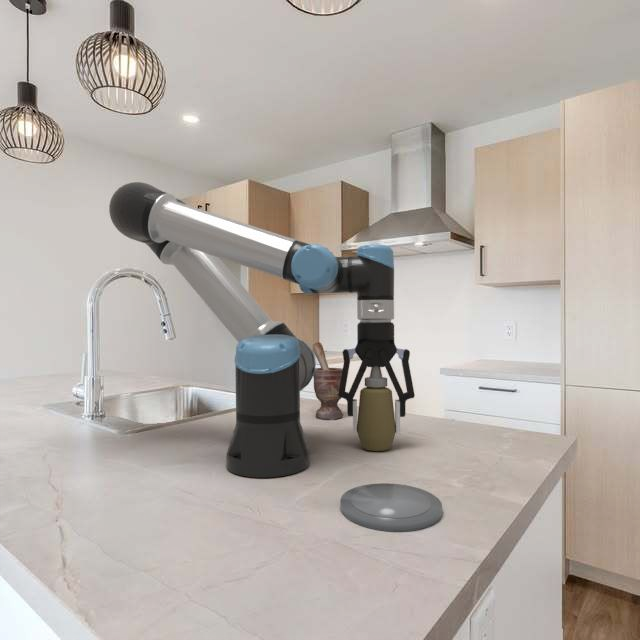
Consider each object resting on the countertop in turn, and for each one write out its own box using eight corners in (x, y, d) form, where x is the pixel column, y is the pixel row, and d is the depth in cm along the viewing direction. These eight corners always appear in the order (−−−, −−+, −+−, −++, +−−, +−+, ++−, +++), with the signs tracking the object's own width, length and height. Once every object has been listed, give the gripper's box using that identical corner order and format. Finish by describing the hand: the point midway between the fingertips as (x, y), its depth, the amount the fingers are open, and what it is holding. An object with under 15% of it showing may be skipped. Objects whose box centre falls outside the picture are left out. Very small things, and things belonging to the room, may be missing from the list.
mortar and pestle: (298, 415, 126) (298, 343, 126) (319, 411, 132) (318, 341, 132) (331, 422, 118) (330, 344, 118) (351, 416, 125) (350, 343, 125)
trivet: (337, 529, 58) (337, 520, 58) (342, 488, 72) (342, 481, 72) (451, 533, 57) (451, 524, 57) (433, 491, 71) (433, 484, 71)
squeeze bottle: (392, 442, 98) (391, 358, 98) (399, 453, 90) (399, 362, 90) (354, 442, 98) (354, 358, 98) (359, 454, 90) (358, 362, 90)
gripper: (323, 321, 91) (324, 436, 91) (430, 321, 89) (430, 437, 90) (326, 321, 99) (327, 427, 99) (424, 321, 97) (425, 428, 97)
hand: (376, 432), depth 94 cm, fingers closed on squeeze bottle, 8 cm apart
